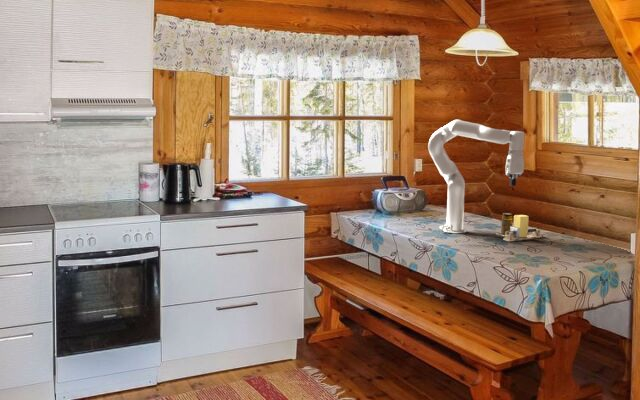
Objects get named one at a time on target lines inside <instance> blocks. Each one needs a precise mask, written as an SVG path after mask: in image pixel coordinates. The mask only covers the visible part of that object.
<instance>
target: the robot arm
mask: <svg viewBox="0 0 640 400" xmlns="http://www.w3.org/2000/svg"><path fill="white" fill-rule="evenodd" d="M457 136H458V137H459V136H460V137H465V138H471V139H475V140H479V141H485V142H490V143H493V144H494V143H495V144H500V145H506V144H508V143H509V147H508V151H507V154H508V155H507V157H506V160H505V161H506V162H505V167H504V168H505V169H504V171H505V175H506V176H507V177H508V178H509V186H510V187H515V186H516V184H517V179H518V177H519V176H522V174H523V173H524V172H525V171H524V169H525V159H524V158H525V157H524V156H523V152H524V143H525V141H524V140H525V133H524V132H523V131H521V130H520V131H519V130H507V129H499V128H493V127H488V126H486V125H483V124H479V123H474V122H470V121H464V120H461V119H454V120H452V121H450V122H449V123H447V124H446V125H444V126H443V127H440V128H439V129H437V130H436V131H434V133H432V135H431V136H430V138H429V141H428V145H427V149H428V153H429V156H430V157H431V160H432V161H433V163H434V165H435V166H436V168H437V170H438V173H439V174H440V176H442V177H443V178H444V181H445V182H446V184H447V199H446V223H444V225H439V229H440V230H443V232H444V233H449V234H450V233H451V234H464V233H466V229H465V228H464V214H465V213H464V211H465V190H466V189H465V188H466V182H465V179H464V176H463V175H462V174H461V172H460V171H459V169H458V167H457V165H456V163H455V162H454V161H453V160H451V159H450V157H449V155H448V154H447V151H446V149H445V148H444V144H445V143H447V142H448V141H451V140H452V139H453V138H455V137H457Z"/></svg>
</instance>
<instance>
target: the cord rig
mask: <svg viewBox="0 0 640 400" xmlns="http://www.w3.org/2000/svg"><path fill="white" fill-rule="evenodd" d="M528 233H531V234H528V236H525V237H520V239H514V238H513V234H515V232H514V231H506V232H505V236H504V238H503V239H502V240H503V241H506V242H515V241H524V240H533V239H539V238H540V237H541V238H543V236H542V235H541V228H539V227H533V228H528Z"/></svg>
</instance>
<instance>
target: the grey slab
mask: <svg viewBox="0 0 640 400" xmlns="http://www.w3.org/2000/svg"><path fill="white" fill-rule="evenodd" d="M510 231H514V232H515V234H513V238H514V239H520V228H519V227H515V226H513V225H512V226H510Z"/></svg>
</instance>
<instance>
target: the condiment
mask: <svg viewBox="0 0 640 400" xmlns="http://www.w3.org/2000/svg"><path fill="white" fill-rule="evenodd" d="M501 216H502V217H501V222H500V224H501V226H500V232H497V233H496V232H495V233H494V234H495V235H499V236H502V237H505V232H506V231H510V226H513V214H512V213H509V212H504V213H502V215H501Z"/></svg>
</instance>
